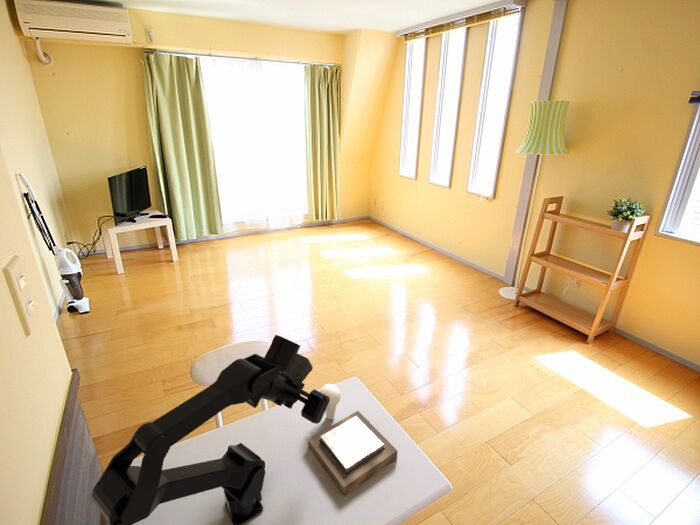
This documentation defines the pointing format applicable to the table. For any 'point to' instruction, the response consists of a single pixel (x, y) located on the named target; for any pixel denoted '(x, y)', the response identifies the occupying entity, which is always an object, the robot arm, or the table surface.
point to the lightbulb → (331, 399)
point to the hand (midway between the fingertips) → (309, 399)
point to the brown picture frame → (361, 473)
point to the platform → (351, 444)
